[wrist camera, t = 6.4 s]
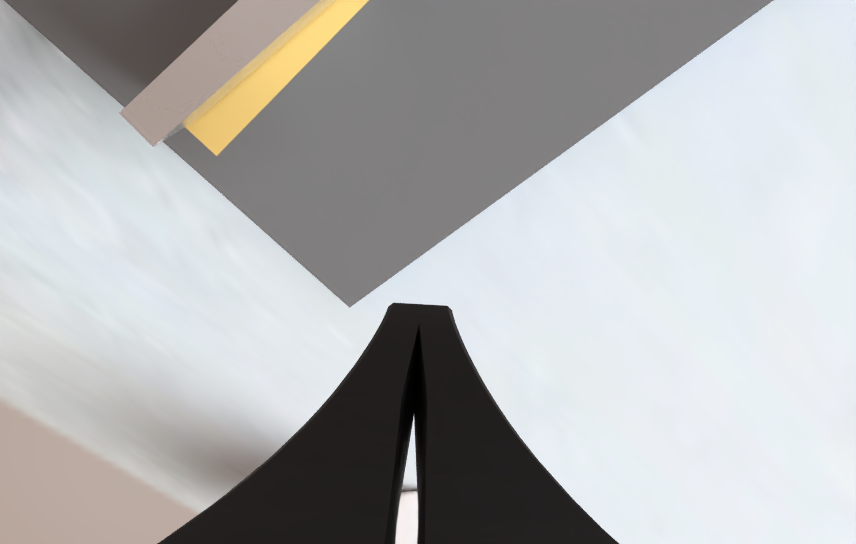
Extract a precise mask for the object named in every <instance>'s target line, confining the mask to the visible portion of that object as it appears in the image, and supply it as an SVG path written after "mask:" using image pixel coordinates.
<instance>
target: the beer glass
mask: <svg viewBox="0 0 856 544" xmlns="http://www.w3.org/2000/svg"><path fill="white" fill-rule="evenodd" d="M417 536H418V494H417V491H405V492H401V496H400V502H399V510H398V518H397V527H396V540H395V544H417Z"/></svg>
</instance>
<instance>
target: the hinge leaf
mask: <svg viewBox="0 0 856 544" xmlns="http://www.w3.org/2000/svg"><path fill="white" fill-rule="evenodd" d="M334 1H335V0H238V1H237V2H236V3H235V4H234V5H233V6H232V7H231V8H230V9H229V10H228V11H227V12H225V13H224V14H223V15H222V16H221V17H220V18H219V19H218V20H217V21H216V22H215V23H214V24H213V25H212V26H211V27H210V28H209V29H207V30H206V31H205V32H204V33H203V34H202V35H201V36H200V37H199V38H198V39H197V40H196V41H195V42H194V43H193V44H192V45H191V46H189V47H188V48H187V49H186V50H185V51H184V52H183V53H182V54H181V55H180V56H179V57H178V58H177V59H176V60H175V61H174V62H173V63H171V64H170V65H169V66H168V67H167V68H166V69H165V70H164V71H163V72H162V73H161V74H160V75H159V76H158V77H157V78H156V79H155V80H153V81H152V82H151V83H150V84H149V85H148V86H147V87H146V88H145V89H144V90H143V91H142V92H141V93H140V94H139V95H138V96H137V97H135V98H134V99H133V100H132V101H131V102H130V103H129V104H128V105H127V106H126V107H125V108H124V109H123V110H122V111H121V112H120V114H121V115H122V116H123V117H124V118H125V119H126V120H127V121H128V122H129V123H130V124H131V125H132V126H133V127H134V128H135V129H136V130H137V131H138V132H139V133H140V134H141V135H142V136H143V137H144V138H145V139H146V140H147V141H148V142H149V143H150V144H151V145H152V146H153V147H154V146H155V145H157V144H159V143H160V142H162V141H163V140H165V139H167V138H168V137H170V136H172V135H173V134H175V133H177V132H178V131H180V130H182V129H183V128H185V127H187V126H188V125H190V124H192V123H193V122H195V121H196V120H198V119H199V118H200V117H201V116H202V115H203V114H205V113H206V112H207V111H208V110H209V109H210V108H211V107H213V106H214V105H215V104H216V103H217V102H218V101H220V100H221V99H222V98H223V97H224V96H225V95H226V94H228V93H229V92H230V91H231V90H232V89H233V88H235V87H236V86H237V85H238V84H239V83H240V82H242V81H243V80H244V79H245V78H246V77H247V76H248V75H250V74H251V73H252V72H253V71H254V70H255V69H257V68H258V67H259V66H260V65H261V64H262V63H263V62H265V61H266V60H267V59H268V58H269V57H270V56H272V55H273V54H274V53H275V52H276V51H277V50H278V49H280V48H281V47H282V46H283V45H284V44H285V43H287V42H288V41H289V40H290V39H291V38H292V37H294V36H295V35H296V34H297V33H298V32H299V31H300V30H302V29H303V28H304V27H305V26H306V25H307V24H309V23H310V22H311V21H312V20H313V19H314V18H315V17H317V16H318V15H319V14H320V13H321V12H322V11H324V10H325V9H326V8H327V7H328V6H329V5H330V4H332V3H333V2H334Z"/></svg>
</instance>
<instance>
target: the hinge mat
mask: <svg viewBox="0 0 856 544" xmlns="http://www.w3.org/2000/svg"><path fill="white" fill-rule="evenodd" d="M4 1H6V2H7V3H8V4H9V5H10V6H11V7H12V8H13V9H15V10H16V11H17V12H18V13H19V14H20V15H21V16H22V17H24V18H25V19H26V20H27V21H28V22H29V23H30V24H31V25H33V26H34V27H35V28H36V29H37V30H38V31H39V32H40V33H42V34H43V35H44V36H45V37H46V38H47V39H48V40H49V41H51V42H52V43H53V44H54V45H55V46H56V47H57V48H58V49H60V50H61V51H62V52H63V53H64V54H65V55H66V56H67V57H69V58H70V59H71V60H72V61H73V62H74V63H75V64H76V65H78V66H79V67H80V68H81V69H82V70H83V71H84V72H85V73H87V74H88V75H89V76H90V77H91V78H92V79H93V80H94V81H96V82H97V83H98V84H99V85H100V86H101V87H102V88H103V89H105V90H106V91H107V92H108V93H109V94H110V95H111V96H112V97H114V98H115V99H116V100H117V101H118V102H119V103H120V104H121V105H123V106H124V107H126V106H127V105H128V104H129V103H130V102H131V101H132V100H133V99H134V98H135V97H137V96H138V95H139V94H140V93H141V92H142V91H143V90H144V89H145V88H146V87H147V86H148V85H149V84H150V83H151V82H152V81H153V80H155V79H156V78H157V77H158V76H159V75H160V74H161V73H162V72H163V71H164V70H165V69H166V68H167V67H168V66H169V65H170V64H171V63H173V62H174V61H175V60H176V59H177V58H178V57H179V56H180V55H181V54H182V53H183V52H184V51H185V50H186V49H187V48H188V47H189V46H191V45H192V44H193V43H194V42H195V41H196V40H197V39H198V38H199V37H200V36H201V35H202V34H203V33H204V32H205V31H206V30H207V29H209V28H210V27H211V26H212V25H213V24H214V23H215V22H216V21H217V20H218V19H219V18H220V17H221V16H222V15H223V14H224V13H225V12H227V11H228V10H229V9H230V8H231V7H232V6H233V5H234V4H235V3H236V2H237V1H238V0H4ZM772 1H773V0H335V1H334V2H333V3H332V4H330V5H329V6H328V7H327V8H326V9H325V10H324V11H322V12H321V13H320V14H319V15H318V16H317V17H315V18H314V19H313V20H312V21H311V22H310V23H309V24H307V25H306V26H305V27H304V28H303V29H302V30H300V31H299V32H298V33H297V34H296V35H295V36H294V37H292V38H291V39H290V40H289V41H288V42H287V43H285V44H284V45H283V46H282V47H281V48H280V49H278V50H277V51H276V52H275V53H274V54H273V55H272V56H270V57H269V58H268V59H267V60H266V61H265V62H263V63H262V64H261V65H260V66H259V67H258V68H257V69H255V70H254V71H253V72H252V73H251V74H250V75H248V76H247V77H246V78H245V79H244V80H243V81H242V82H240V83H239V84H238V85H237V86H236V87H235V88H233V89H232V90H231V91H230V92H229V93H228V94H226V95H225V96H224V97H223V98H222V99H221V100H220V101H218V102H217V103H216V104H215V105H214V106H213V107H211V108H210V109H209V110H208V111H207V112H206V113H205V114H203V115H202V116H201V117H200V118H199V119H198V120H196V121H195V122H193V123H192V124H190V125H188V126H187V127H185V128H183V129H182V130H180V131H178V132H177V133H175V134H173V135H172V136H170V137H168V138H167V139H165V140H163V142H164V143H165V144H166V145H168V146H169V147H170V148H171V149H172V150H173V151H174V152H175V153H177V154H178V155H179V156H180V157H181V158H182V159H183V160H184V161H186V162H187V163H188V164H189V165H190V166H191V167H192V168H193V169H195V170H196V171H197V172H198V173H199V174H200V175H201V176H202V177H204V178H205V179H206V180H207V181H208V182H209V183H210V184H211V185H213V186H214V187H215V188H216V189H217V190H218V191H219V192H220V193H222V194H223V195H224V196H225V197H226V198H227V199H228V200H229V201H231V202H232V203H233V204H234V205H235V206H236V207H237V208H238V209H239V210H241V211H242V212H243V213H244V214H245V215H246V216H247V217H248V218H250V219H251V220H252V221H253V222H254V223H255V224H256V225H257V226H259V227H260V228H261V229H262V230H263V231H264V232H265V233H266V234H268V235H269V236H270V237H271V238H272V239H273V240H274V241H275V242H277V243H278V244H279V245H280V246H281V247H282V248H283V249H284V250H286V251H287V252H288V253H289V254H290V255H291V256H292V257H293V258H295V259H296V260H297V261H298V262H299V263H300V264H301V265H302V266H304V267H305V268H306V269H307V270H308V271H309V272H310V273H311V274H313V275H314V276H315V277H316V278H317V279H318V280H319V281H320V282H322V283H323V284H324V285H325V286H326V287H327V288H328V289H329V290H331V291H332V292H333V293H334V294H335V295H336V296H337V297H338V298H340V299H341V300H342V301H343V302H344V303H345V304H346V305H347V306H349V307H351V306H352V305H354V304H355V303H356V302H358V301H359V300H361V299H362V298H363V297H365V296H366V295H367V294H369V293H370V292H372V291H373V290H374V289H376V288H377V287H378V286H380V285H381V284H383V283H384V282H385V281H387V280H388V279H390V278H391V277H392V276H394V275H395V274H396V273H398V272H399V271H401V270H402V269H403V268H405V267H406V266H407V265H409V264H410V263H412V262H413V261H414V260H416V259H417V258H418V257H420V256H421V255H423V254H424V253H425V252H427V251H428V250H430V249H431V248H432V247H434V246H435V245H436V244H438V243H439V242H441V241H442V240H443V239H445V238H446V237H447V236H449V235H450V234H452V233H453V232H454V231H456V230H457V229H458V228H460V227H461V226H463V225H464V224H465V223H467V222H468V221H470V220H471V219H472V218H474V217H475V216H476V215H478V214H479V213H481V212H482V211H483V210H485V209H486V208H487V207H489V206H490V205H492V204H493V203H494V202H496V201H497V200H498V199H500V198H501V197H503V196H504V195H505V194H507V193H508V192H510V191H511V190H512V189H514V188H515V187H516V186H518V185H519V184H521V183H522V182H523V181H525V180H526V179H527V178H529V177H530V176H532V175H533V174H534V173H536V172H537V171H538V170H540V169H541V168H543V167H544V166H545V165H547V164H548V163H550V162H551V161H552V160H554V159H555V158H556V157H558V156H559V155H561V154H562V153H563V152H565V151H566V150H567V149H569V148H570V147H572V146H573V145H574V144H576V143H577V142H578V141H580V140H581V139H583V138H584V137H585V136H587V135H588V134H590V133H591V132H592V131H594V130H595V129H596V128H598V127H599V126H601V125H602V124H603V123H605V122H606V121H607V120H609V119H610V118H612V117H613V116H614V115H616V114H617V113H618V112H620V111H621V110H623V109H624V108H625V107H627V106H628V105H630V104H631V103H632V102H634V101H635V100H636V99H638V98H639V97H641V96H642V95H643V94H645V93H646V92H647V91H649V90H650V89H652V88H653V87H654V86H656V85H657V84H658V83H660V82H661V81H663V80H664V79H665V78H667V77H668V76H670V75H671V74H672V73H674V72H675V71H676V70H678V69H679V68H681V67H682V66H683V65H685V64H686V63H687V62H689V61H690V60H692V59H693V58H694V57H696V56H697V55H698V54H700V53H701V52H703V51H704V50H705V49H707V48H708V47H710V46H711V45H712V44H714V43H715V42H716V41H718V40H719V39H721V38H722V37H723V36H725V35H726V34H727V33H729V32H730V31H732V30H733V29H734V28H736V27H737V26H738V25H740V24H741V23H743V22H744V21H745V20H747V19H748V18H750V17H751V16H752V15H754V14H755V13H756V12H758V11H759V10H761V9H762V8H763V7H765V6H766V5H767V4H769V3H770V2H772Z"/></svg>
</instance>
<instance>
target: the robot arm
mask: <svg viewBox="0 0 856 544" xmlns="http://www.w3.org/2000/svg"><path fill="white" fill-rule="evenodd" d="M413 417H414V419H415V445H416V470H417V494H418V536H417V544H619V543H618V542H617V541H615V540H614V539H613V538H612V537H611V536H610V535H609V534H608V533H607V532H605V531H604V530H603V529H602V528H601V527H600V526H599V525H598V524H597V523H596V522H595V521H594V520H593V519H592V518H591V517H590V516H589V515H588V514H587V513H586V512H585V511H584V510H583V509H582V508H581V507H580V506H579V505H578V504H577V503H576V502H575V501H574V500H573V499H572V498H571V496H570V495H569V494H568V493H567V492H566V491H565V490H564V489H563V487H562V486H561V485H560V484H559V483H558V482H557V481H556V480H555V479H554V477H553V476H552V475H551V474H550V473H549V472H548V471H547V470H546V468H545V467H544V466H543V465H542V464H541V463H540V462H539V461H538V459H537V458H536V457H535V456H534V454H533V453H532V452H531V451H530V449H529V448H528V447H527V446H526V444H525V443H524V442H523V440H522V439H521V438H520V437H519V435H518V434H517V432H516V431H515V430H514V428H513V427H512V426H511V424H510V423H509V422H508V420H507V419H506V417H505V416H504V414H503V413H502V411H501V410H500V408H499V407H498V405H497V404H496V402H495V400H494V399H493V397H492V396H491V394H490V392H489V391H488V389H487V387H486V386H485V384H484V382H483V380H482V379H481V377H480V375H479V373H478V371H477V369H476V368H475V366H474V364H473V362H472V360H471V358H470V356H469V354H468V352H467V350H466V348H465V346H464V343H463V341H462V339H461V336H460V334H459V331H458V329H457V326H456V323H455V320H454V317H453V313H452V310H451V309H450V308H449V307H448V306H440V305H423V304H405V303H393V304H391V305H390V306H389V307H388V309H387V312H386V314H385V316H384V318H383V320H382V322H381V324H380V326H379V328H378V330H377V331H376V333H375V335H374V336H373V338H372V340H371V341H370V343H369V344H368V346H367V347H366V349H365V350H364V352H363V353H362V355H361V356H360V358H359V360H358V361H357V362H356V364H355V365H354V367H353V368H352V369H351V371H350V372H349V373H348V374H347V376H346V377H345V378H344V380H343V381H342V382H341V383H340V385H339V386H338V387H337V389H336V390H335V391H334V392H333V394H332V395H331V396H330V397H329V398H328V399H327V401H326V402H325V403H324V404H323V405H322V406H321V407H320V409H319V410H318V411H317V412H316V413H315V414H314V415H313V416H312V417H311V418H310V419H309V420H308V422H307V423H306V424H305V425H304V426H303V427H302V428H301V429H300V430H299V431H298V432H297V433H295V434H294V435H293V436H292V437H291V438H290V439H289V440H288V441H287V442H286V443H285V444H284V445H283V446H282V447H281V448H280V449H279V450H278V451H277V452H276V453H275V454H273V455H272V456H271V457H270V458H269V459H268V460H267V461H266V462H265V463H263V464H262V465H261V466H260V467H258V468H257V469H256V470H255V471H254V472H252V473H251V474H250V475H249V476H248V477H246V478H245V479H244V480H243V481H241V482H240V483H239V484H238V485H237V486H235V487H234V488H233V489H232V490H231V491H229V492H228V493H227V494H226V495H224V496H223V497H222V498H221V499H219V500H218V501H217V502H215V503H214V504H213V505H211V506H210V507H209V508H207V509H206V510H204V511H203V512H202V513H200V514H199V515H197V516H196V517H195V518H193V519H192V520H190V521H189V522H187V523H186V524H185V525H183V526H182V527H180V528H179V529H178V530H176V531H175V532H173V533H172V534H171V535H169V536H168V537H166V538H165V539H164V540H162V541H161V542H160V543H158V544H395V540H396V527H397V518H398V510H399V502H400V496H401V490H402V484H403V478H404V472H405V466H406V460H407V454H408V447H409V441H410V435H411V429H412V423H413Z"/></svg>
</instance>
